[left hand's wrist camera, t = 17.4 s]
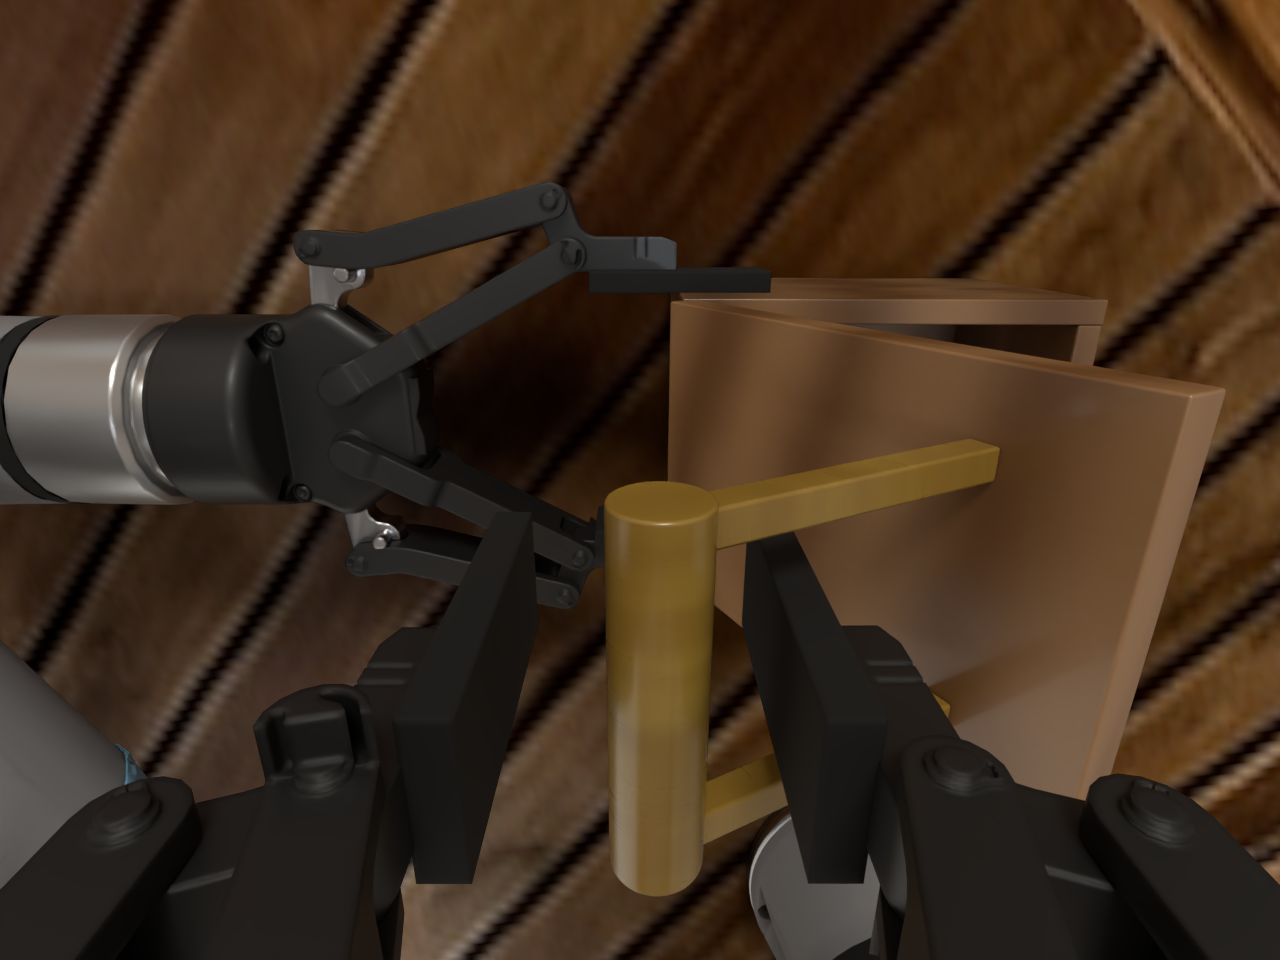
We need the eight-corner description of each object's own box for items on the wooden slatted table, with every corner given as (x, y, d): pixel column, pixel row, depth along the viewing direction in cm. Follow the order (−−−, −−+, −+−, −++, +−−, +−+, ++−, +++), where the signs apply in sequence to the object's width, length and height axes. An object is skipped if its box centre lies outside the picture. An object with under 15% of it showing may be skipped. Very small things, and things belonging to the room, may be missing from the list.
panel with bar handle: (1229, 388, 10) (751, 485, 6) (1086, 860, 14) (711, 1117, 10) (696, 299, 22) (419, 314, 18) (689, 560, 26) (451, 620, 22)
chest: (973, 278, 32) (1109, 299, 23) (942, 470, 35) (1049, 557, 26) (670, 277, 32) (682, 298, 23) (667, 469, 35) (676, 556, 26)
